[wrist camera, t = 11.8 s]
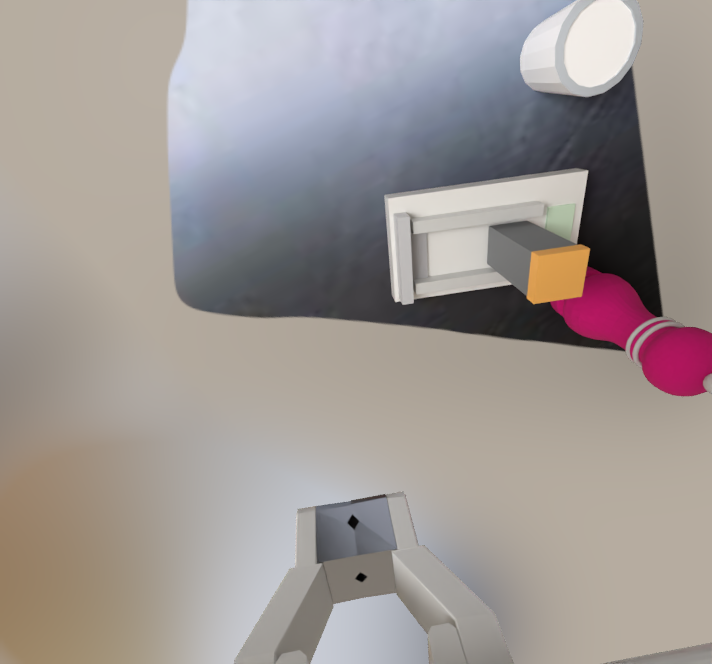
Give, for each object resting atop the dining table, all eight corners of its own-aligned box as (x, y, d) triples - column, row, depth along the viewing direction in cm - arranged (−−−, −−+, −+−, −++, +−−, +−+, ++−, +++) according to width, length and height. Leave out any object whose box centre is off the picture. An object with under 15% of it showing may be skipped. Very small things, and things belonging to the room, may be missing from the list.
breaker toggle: (487, 225, 41) (539, 256, 32) (527, 219, 41) (590, 248, 32) (486, 264, 43) (533, 304, 34) (524, 258, 43) (581, 296, 34)
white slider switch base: (384, 194, 40) (391, 202, 37) (576, 168, 41) (601, 173, 38) (391, 294, 46) (399, 309, 42) (561, 269, 47) (582, 281, 43)
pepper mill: (615, 267, 47) (797, 356, 30) (586, 321, 50) (735, 430, 33) (561, 256, 46) (719, 343, 28) (535, 313, 49) (663, 423, 32)
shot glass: (581, -8, 34) (641, -35, 28) (592, 78, 38) (647, 71, 31) (505, 31, 35) (547, 13, 29) (522, 113, 38) (563, 113, 32)
